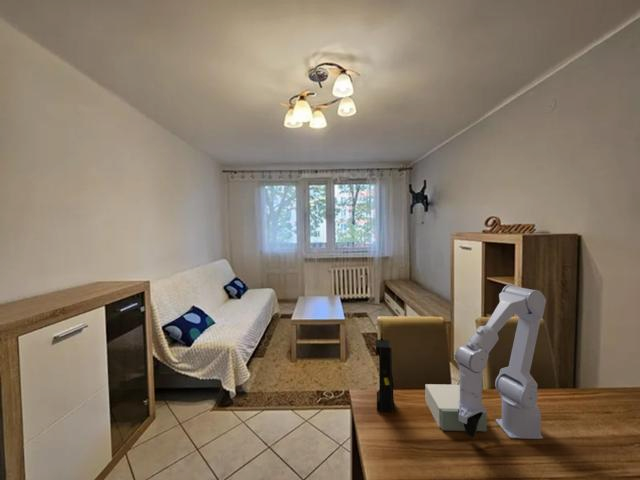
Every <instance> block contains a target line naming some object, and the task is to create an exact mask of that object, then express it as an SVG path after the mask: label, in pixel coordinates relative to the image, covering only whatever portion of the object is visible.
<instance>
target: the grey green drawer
mask: <svg viewBox="0 0 640 480" xmlns="http://www.w3.org/2000/svg"><path fill="white" fill-rule="evenodd" d="M487 422H488V421H487V411H486V413H483V414H482V416H481V418H480V419H479V422H478V426H477V430H476V432H487V430H488V429H487ZM440 429H441V430H442V431H453V432H454V431H457V432H458V431H459V432H465V428H464V424H463V423H462V422H460V421H459V413H458V409H441V428H440Z"/></svg>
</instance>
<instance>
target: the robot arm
mask: <svg viewBox="0 0 640 480" xmlns="http://www.w3.org/2000/svg"><path fill="white" fill-rule="evenodd" d="M498 298H499V299H498V300H499V303H498V304H497V305H496V307H495V309H494V311H493V312H492V314H491V315H490V317H489V319H488V320H487V322H486V324H485V325H481V326H480V325H479V326H478V328H477V329H476V330H475V331H474V333H473V334H472V336H471V337H470V338H469V339H468V341H467V343H466V344H464V345H460V346H458V348H457V349H456V352H455V354H454V355H453V356H454V359H455V361H456V363H457V368H458V369H459V371H458V372H459V378H458V379H459V385H460V400H459V409H458V413H459V421H460V422H462V423H463V424H464V428H465V431H464V432H465V435H467V436H469V437H472V438H474V437H475V436H476V433H477V431H476V430H477V426H478V422H479V419H480V418H481V416H482V414H483V413H486V412H487V407H485V406H483V396H482V395H483V394H482V393H483V388H482V387H483V386H482V385H483V375H482V373H483V371H484V370H485V369H486V368H487V365H488V359H489V356H490V355H489V354H490V352H491V350H493V348H494V347H495V345H496V344H497V343H498V341H499V339H500V338H499V335H498V334H499V333H498V332H500V330H501V329H502V328H503V327H504V326H505V325H506V323H508V321H510V319H511V318H512V317H513V316H514V315H516V316H517V317H518V321H517V325H516V330H515V334H514V339H513V344H512V348H511V354H510V359H509V363H508V366H506V367H503V368H500V370H499V374H498V375H497V377H496V378H495V383H494V386H495V389H496V390H497V392H499V397H500V398H501V418H496V419H495V422H496V424H498V425H499V427H500V428H501V429H502V430H503V431H504V433H505V434H506V435H507V436H508V438H510V439H529V440H530V439H534V440H542V439H543V438H544V437H543V436H542V426H541V425H542V414H541V411H540V409H539V407H538V405H537V402H538V399H539V398H538V397H539V395H538V383H537V381H536V380H535V379H534V377H533V376H532V374H531V373H530V372H531V369H532V363H533V357H534V354H535V348H536V344H537V338H538V333H539V329H540V324H541V321H542V319H543V317H544V313H545V307H546V304H547V298H546V297H545V295H544V294H543V293H542V291H540V290H538V289H530V288H526V287H520V286H516V285H512V284H507V285H505V286H504V287H503V288H502V290H501V292H500V293H498Z"/></svg>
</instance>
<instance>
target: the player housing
mask: <svg viewBox="0 0 640 480" xmlns="http://www.w3.org/2000/svg"><path fill="white" fill-rule="evenodd" d="M424 386H425V388H424V389H425V391H424V392H425V393H424V395H425V397H424V398H425V403H426V404H427V407H428V409H429V410H430V413H431V414H432V416H433V419H434V420H435V422H436V424H437V426H438V428H439V429H441V409H459V400H460V384H445V383H443V384H439V383H438V384H436V383H435V384H434V383H433V384H432V383H429V384H428V383H426V384H424Z"/></svg>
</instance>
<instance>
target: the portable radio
mask: <svg viewBox="0 0 640 480" xmlns="http://www.w3.org/2000/svg"><path fill="white" fill-rule="evenodd" d="M380 335H381V336H380V339H376V340H375V353H376V354H375V355H378V363H379V364H378V367H379V368H378V369H379V370H378V375H379V380H378V381H379V384H378V385H379V386H378V387H379V389H378V390H377V391H376V410H377V411H380V412H386V413H393V412H394V411H395V400H394V399H395V398H394V387H395V386H394V378H393V372H392V371H393V368H392V367H393V364H392V362H393V360H392V359H393V358H392V354H393V353H392V343H391V341H390V339H384V338H383V332H382V333H380Z"/></svg>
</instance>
